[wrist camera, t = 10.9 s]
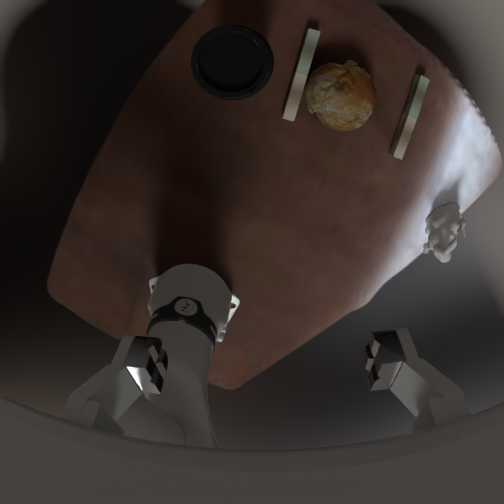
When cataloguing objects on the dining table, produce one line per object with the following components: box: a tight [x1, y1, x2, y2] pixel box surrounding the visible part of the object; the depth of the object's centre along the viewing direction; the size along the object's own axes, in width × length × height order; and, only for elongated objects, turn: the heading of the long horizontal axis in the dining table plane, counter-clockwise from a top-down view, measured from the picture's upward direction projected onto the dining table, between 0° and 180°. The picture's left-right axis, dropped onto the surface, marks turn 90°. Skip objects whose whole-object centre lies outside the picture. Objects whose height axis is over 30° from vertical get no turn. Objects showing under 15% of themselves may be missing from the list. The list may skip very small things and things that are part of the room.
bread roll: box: [305, 60, 376, 132], centre depth 35 cm, size 10×10×8 cm
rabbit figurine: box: [422, 202, 466, 262], centre depth 44 cm, size 12×8×10 cm, turn 153°
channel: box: [282, 28, 429, 160], centre depth 36 cm, size 14×19×2 cm
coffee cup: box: [191, 25, 274, 100], centre depth 30 cm, size 8×8×15 cm
